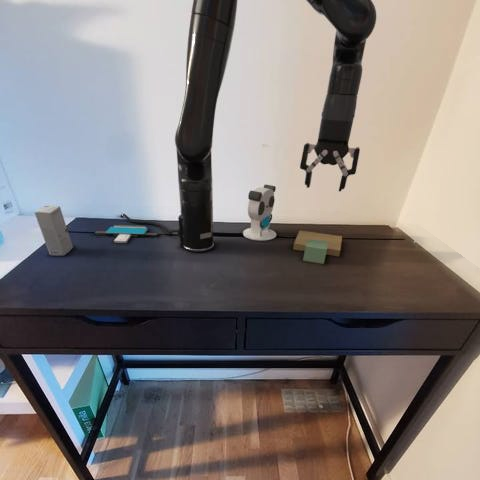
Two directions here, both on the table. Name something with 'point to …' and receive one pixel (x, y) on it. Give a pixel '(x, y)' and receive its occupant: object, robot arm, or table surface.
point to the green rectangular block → (315, 251)
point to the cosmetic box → (54, 230)
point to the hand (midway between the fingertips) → (323, 188)
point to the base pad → (332, 240)
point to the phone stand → (126, 232)
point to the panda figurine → (261, 213)
